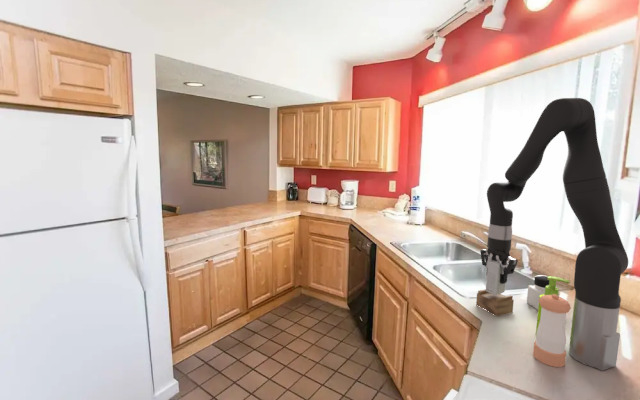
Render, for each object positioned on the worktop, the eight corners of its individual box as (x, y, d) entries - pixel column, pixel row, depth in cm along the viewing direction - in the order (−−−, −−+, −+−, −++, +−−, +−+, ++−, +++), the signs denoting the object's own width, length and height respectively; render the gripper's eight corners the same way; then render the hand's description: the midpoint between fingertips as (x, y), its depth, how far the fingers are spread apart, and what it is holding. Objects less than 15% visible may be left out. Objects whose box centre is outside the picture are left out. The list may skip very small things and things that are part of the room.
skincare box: (496, 295, 110) (500, 264, 109) (484, 291, 114) (487, 260, 112) (505, 291, 114) (508, 261, 112) (493, 287, 118) (496, 257, 116)
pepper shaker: (534, 347, 91) (540, 287, 89) (565, 357, 87) (572, 294, 84) (531, 359, 86) (538, 295, 83) (564, 370, 81) (572, 303, 78)
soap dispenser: (563, 345, 92) (570, 283, 89) (535, 337, 96) (541, 277, 93) (562, 337, 97) (569, 277, 94) (536, 329, 101) (541, 272, 98)
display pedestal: (512, 312, 112) (513, 296, 111) (496, 316, 109) (497, 300, 109) (491, 302, 120) (492, 287, 120) (476, 305, 118) (477, 290, 117)
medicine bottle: (558, 311, 113) (561, 280, 112) (538, 311, 113) (541, 280, 112) (544, 302, 120) (547, 273, 119) (526, 302, 120) (528, 273, 119)
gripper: (525, 240, 106) (521, 286, 108) (490, 231, 119) (487, 272, 121) (510, 242, 103) (506, 289, 105) (475, 232, 117) (472, 275, 119)
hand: (496, 280), depth 113 cm, fingers closed on skincare box, 5 cm apart
